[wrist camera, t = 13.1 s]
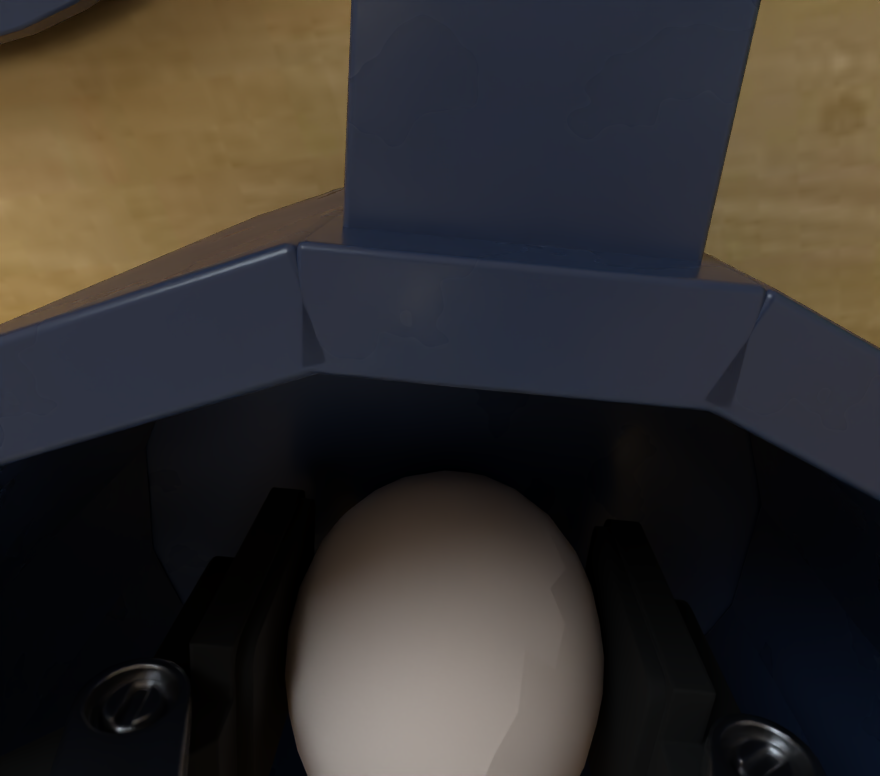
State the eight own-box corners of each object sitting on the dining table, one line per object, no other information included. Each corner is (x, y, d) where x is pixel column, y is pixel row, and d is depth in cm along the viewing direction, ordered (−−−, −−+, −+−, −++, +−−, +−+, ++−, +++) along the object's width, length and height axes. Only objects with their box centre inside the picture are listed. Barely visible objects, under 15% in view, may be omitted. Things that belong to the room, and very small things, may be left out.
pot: (931, 37, 11) (2221, -217, 3) (676, 857, 18) (852, 1456, 10) (77, -47, 11) (-995, -532, 3) (150, 808, 18) (-108, 1368, 10)
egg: (279, 508, 14) (126, 827, 7) (469, 367, 13) (475, 605, 6) (431, 660, 15) (408, 1043, 9) (617, 545, 14) (745, 892, 8)
